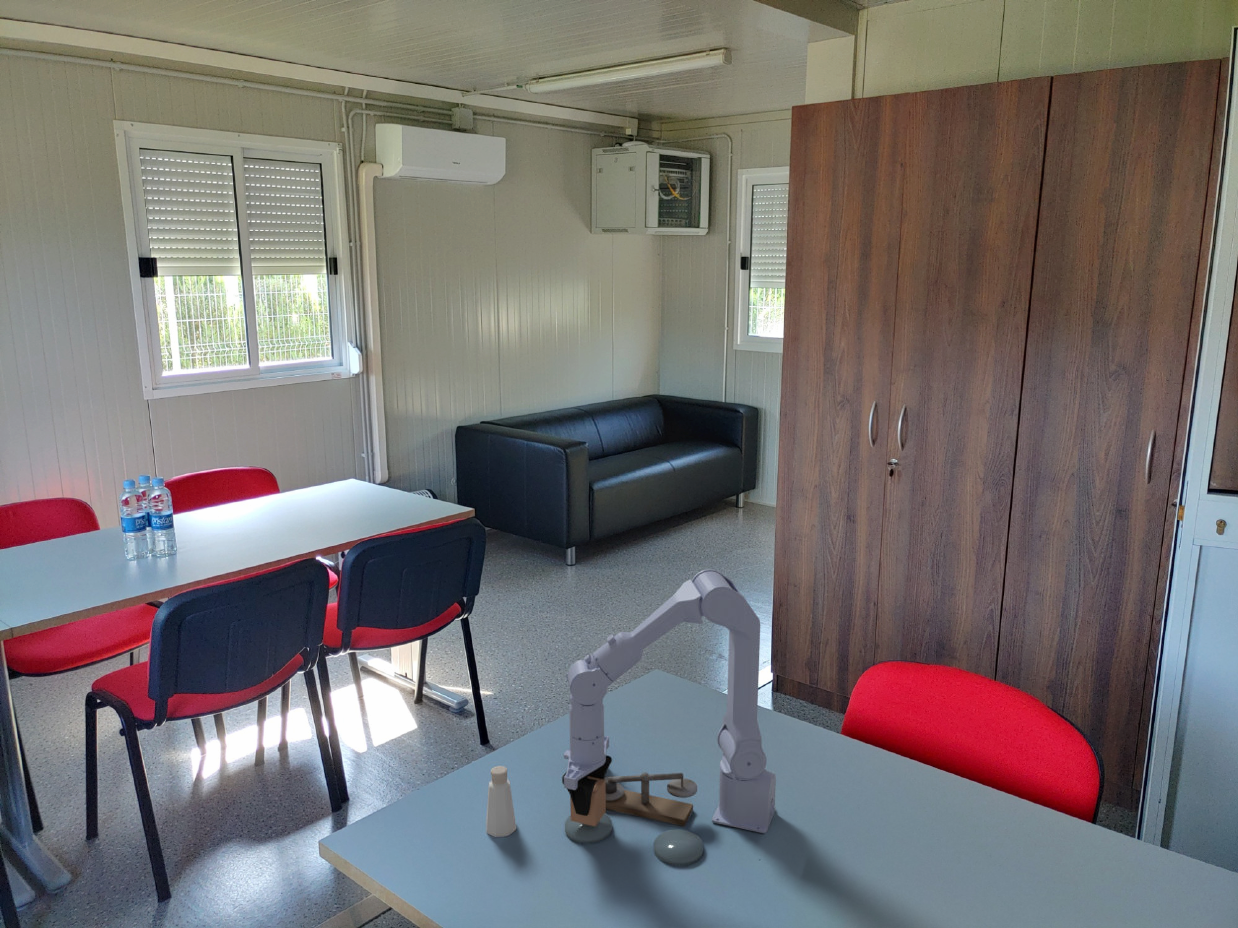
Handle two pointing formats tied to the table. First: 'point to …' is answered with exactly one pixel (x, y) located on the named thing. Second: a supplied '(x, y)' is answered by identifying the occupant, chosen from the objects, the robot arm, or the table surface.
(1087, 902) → the table surface
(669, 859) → the smooth grey pebble
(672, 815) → the balance
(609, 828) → the grey dome
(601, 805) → the block
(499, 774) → the salt shaker
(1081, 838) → the table surface
